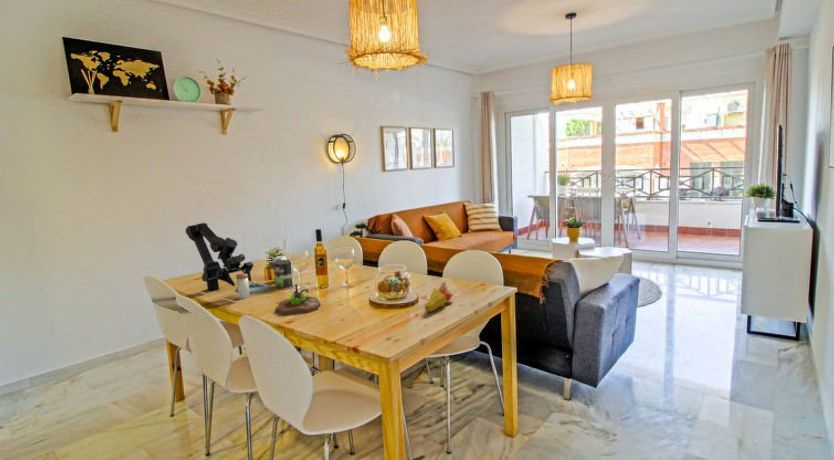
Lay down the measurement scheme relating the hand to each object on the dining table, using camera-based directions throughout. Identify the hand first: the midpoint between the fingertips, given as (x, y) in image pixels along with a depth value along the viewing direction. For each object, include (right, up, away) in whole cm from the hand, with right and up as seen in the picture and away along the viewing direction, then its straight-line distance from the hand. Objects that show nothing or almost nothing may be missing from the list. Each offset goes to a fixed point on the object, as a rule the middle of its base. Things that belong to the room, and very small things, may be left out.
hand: (242, 283), depth 233 cm
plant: (+33, -10, -17) cm, 38 cm away
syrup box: (+11, -3, +31) cm, 33 cm away
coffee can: (+16, -5, +19) cm, 25 cm away
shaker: (+1, -8, +1) cm, 8 cm away
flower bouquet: (+97, -8, -25) cm, 100 cm away
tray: (0, -6, +15) cm, 16 cm away
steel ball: (-1, -4, +21) cm, 21 cm away
